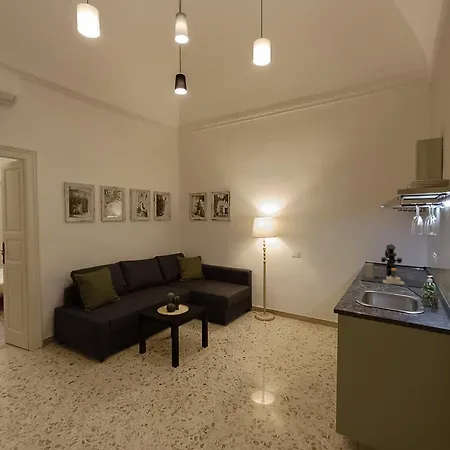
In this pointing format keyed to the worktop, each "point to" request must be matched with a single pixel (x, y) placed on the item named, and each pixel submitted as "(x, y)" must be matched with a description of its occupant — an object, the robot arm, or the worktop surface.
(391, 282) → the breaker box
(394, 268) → the lever
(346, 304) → the worktop surface
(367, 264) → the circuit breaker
